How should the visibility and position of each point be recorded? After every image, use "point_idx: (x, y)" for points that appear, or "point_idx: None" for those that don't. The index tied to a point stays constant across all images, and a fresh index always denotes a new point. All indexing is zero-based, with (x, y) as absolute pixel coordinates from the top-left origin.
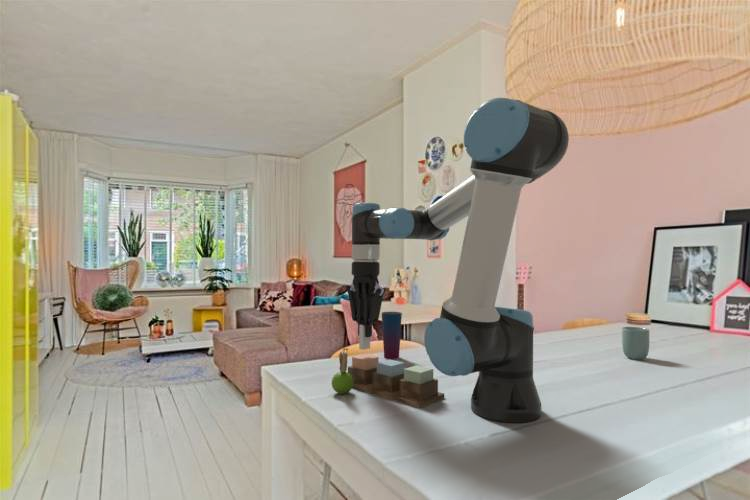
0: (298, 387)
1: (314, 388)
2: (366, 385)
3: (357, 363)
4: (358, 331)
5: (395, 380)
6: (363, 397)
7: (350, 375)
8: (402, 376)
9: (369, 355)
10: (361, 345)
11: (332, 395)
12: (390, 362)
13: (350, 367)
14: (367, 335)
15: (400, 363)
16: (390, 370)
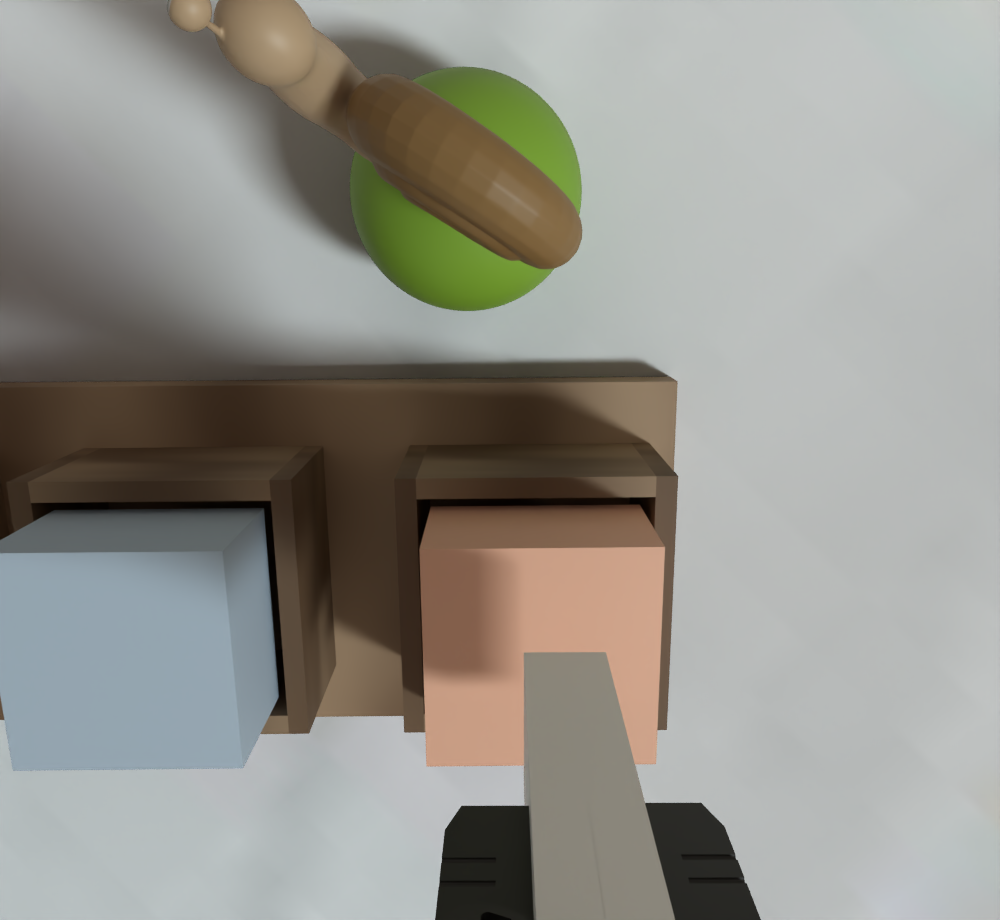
0: (933, 14)
1: (783, 113)
2: (398, 446)
3: (560, 527)
4: (728, 862)
5: None
6: (252, 259)
7: (391, 246)
8: None
9: None
10: (563, 681)
11: None
12: (120, 668)
13: (633, 475)
14: (463, 828)
15: (8, 711)
16: (22, 533)
